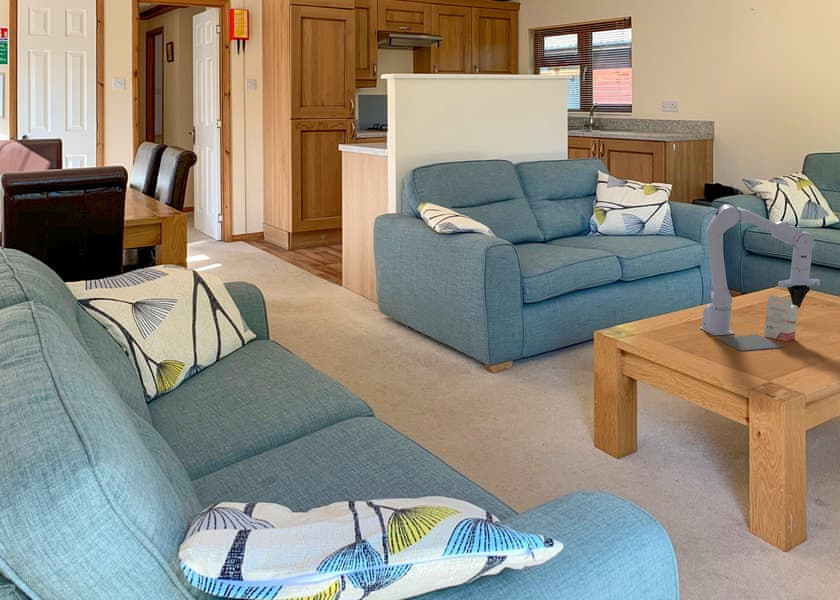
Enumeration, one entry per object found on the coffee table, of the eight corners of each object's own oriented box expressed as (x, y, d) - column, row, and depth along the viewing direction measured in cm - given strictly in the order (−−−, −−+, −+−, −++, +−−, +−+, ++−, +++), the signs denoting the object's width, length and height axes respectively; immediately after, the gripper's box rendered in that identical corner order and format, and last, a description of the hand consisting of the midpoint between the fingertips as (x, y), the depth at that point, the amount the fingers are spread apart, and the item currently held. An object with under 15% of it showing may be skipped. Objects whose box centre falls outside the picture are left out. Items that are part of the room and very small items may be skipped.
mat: (716, 338, 261) (716, 337, 261) (757, 335, 264) (757, 334, 263) (741, 351, 247) (741, 350, 247) (783, 347, 250) (784, 346, 250)
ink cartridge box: (795, 339, 259) (800, 297, 255) (787, 342, 256) (792, 299, 252) (771, 333, 266) (775, 292, 262) (763, 336, 263) (767, 294, 259)
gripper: (789, 271, 251) (784, 311, 254) (828, 268, 253) (823, 308, 257) (775, 267, 257) (771, 306, 261) (813, 264, 260) (809, 303, 264)
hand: (796, 307), depth 259 cm, fingers closed
